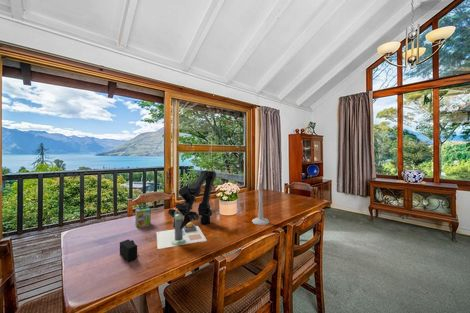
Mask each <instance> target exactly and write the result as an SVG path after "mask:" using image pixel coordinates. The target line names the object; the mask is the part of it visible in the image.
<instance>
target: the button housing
mask: <svg viewBox="0 0 470 313" xmlns="http://www.w3.org/2000/svg"><path fill="white" fill-rule="evenodd" d="M195 226H196V225H195V224H194V223H193V228H186V225H185V226H184V227H183V229H184V231H185V232H190V231H196V227H195Z"/></svg>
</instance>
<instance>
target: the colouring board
mask: <svg viewBox="0 0 470 313" xmlns="http://www.w3.org/2000/svg"><path fill="white" fill-rule="evenodd" d="M195 227H196V231H190V232H185V231H184V229H183V239H182V240H180V241H176V240H175V228H173V229H168V230H160V231H156V243H157V244H156V246H157V250H160V249H166V248H171V247H178V246H182V245H187V244H194V243H198V242H199V243H204V242H207V238H206V236H205V235H204V233H203V232H202V230H201V228H200V227H199V226H198V225H195Z"/></svg>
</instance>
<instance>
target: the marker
mask: <svg viewBox="0 0 470 313" xmlns="http://www.w3.org/2000/svg"><path fill="white" fill-rule="evenodd" d="M174 217H175V228H174V229H175V240H176V241H180V240H182V239H183V228H182V229H180V227H181V225H182V222H183V220H184V216H183V214H175V215H174ZM174 217H173V218H174Z"/></svg>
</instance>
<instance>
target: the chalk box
mask: <svg viewBox="0 0 470 313" xmlns="http://www.w3.org/2000/svg"><path fill="white" fill-rule="evenodd" d="M138 206H139V208H135V211H134V212H135V216H134V217H135V218H134V219H135V222H134V223H135V227H136V228H138V229H139V228H143V227H147V226H151V224H152V223H151V222H152V220H151V219H152V216H151V215H152V210H151V209H150V207H149V206H147V203H143V204H139V205H138Z"/></svg>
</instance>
